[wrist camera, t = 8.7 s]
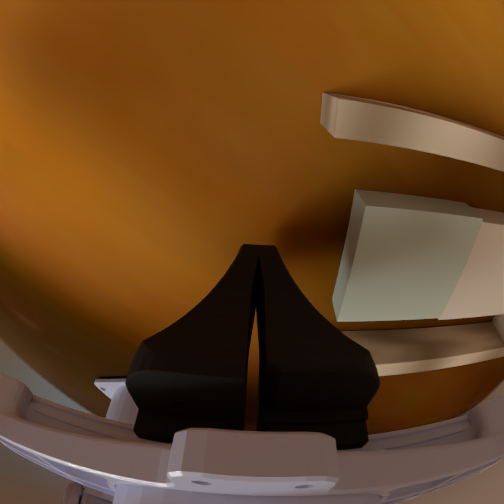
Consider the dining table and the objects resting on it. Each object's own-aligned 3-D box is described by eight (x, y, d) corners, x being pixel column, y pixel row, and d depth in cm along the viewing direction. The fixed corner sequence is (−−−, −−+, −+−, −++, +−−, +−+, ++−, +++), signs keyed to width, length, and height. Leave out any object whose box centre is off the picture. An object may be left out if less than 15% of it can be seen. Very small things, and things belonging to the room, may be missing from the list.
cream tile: (426, 295, 15) (438, 319, 14) (461, 202, 12) (482, 222, 10) (492, 293, 15) (506, 313, 14) (527, 214, 12) (546, 232, 10)
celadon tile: (330, 293, 15) (336, 321, 14) (352, 185, 12) (365, 205, 10) (426, 293, 15) (439, 317, 14) (462, 199, 12) (483, 218, 10)
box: (289, 344, 17) (291, 379, 15) (322, 92, 10) (338, 98, 8) (493, 331, 17) (506, 355, 15) (567, 166, 9) (593, 185, 7)
